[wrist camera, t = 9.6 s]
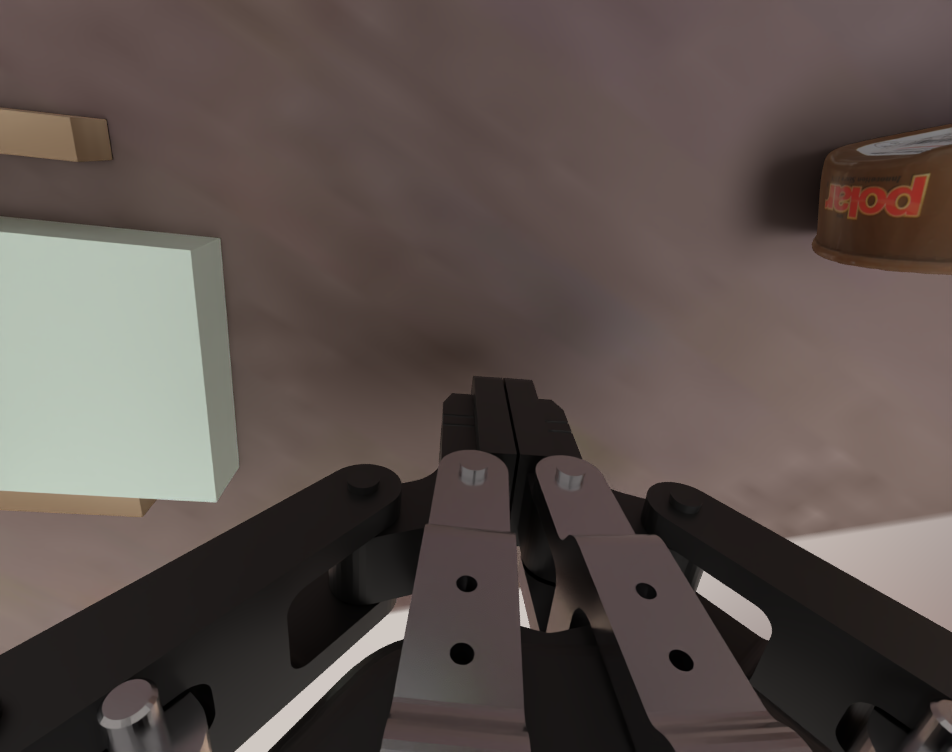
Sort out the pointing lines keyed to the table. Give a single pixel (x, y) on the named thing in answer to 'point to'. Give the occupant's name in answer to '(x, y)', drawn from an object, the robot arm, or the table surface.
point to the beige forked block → (77, 144)
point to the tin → (889, 203)
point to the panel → (114, 363)
